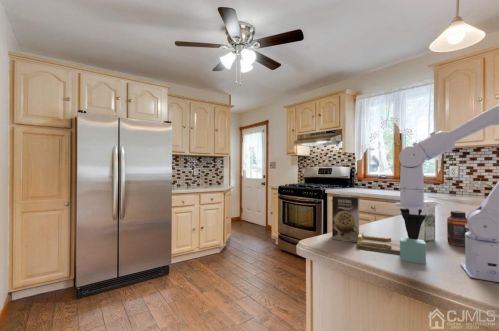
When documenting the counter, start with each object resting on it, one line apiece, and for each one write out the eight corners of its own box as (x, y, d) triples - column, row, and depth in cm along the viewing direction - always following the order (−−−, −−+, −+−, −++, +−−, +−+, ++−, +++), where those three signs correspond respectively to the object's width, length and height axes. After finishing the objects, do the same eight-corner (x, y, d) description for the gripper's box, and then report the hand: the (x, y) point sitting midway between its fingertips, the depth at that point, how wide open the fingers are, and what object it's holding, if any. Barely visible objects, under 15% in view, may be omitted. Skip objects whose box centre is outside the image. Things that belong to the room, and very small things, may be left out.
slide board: (423, 257, 74) (423, 245, 74) (357, 248, 83) (357, 237, 83) (419, 246, 85) (419, 236, 85) (360, 239, 93) (360, 229, 93)
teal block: (425, 264, 69) (425, 244, 70) (400, 260, 72) (400, 241, 72) (423, 258, 73) (423, 240, 73) (399, 255, 76) (399, 237, 76)
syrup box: (420, 236, 97) (419, 198, 97) (436, 240, 91) (435, 200, 92) (409, 237, 95) (409, 199, 95) (425, 242, 89) (424, 201, 90)
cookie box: (331, 239, 93) (331, 195, 93) (334, 235, 99) (334, 194, 99) (358, 242, 89) (358, 197, 89) (359, 238, 95) (359, 195, 95)
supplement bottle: (474, 247, 83) (473, 213, 83) (453, 246, 84) (453, 212, 84) (462, 242, 89) (462, 210, 89) (443, 241, 90) (443, 209, 90)
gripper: (395, 186, 81) (395, 228, 81) (396, 190, 69) (396, 239, 69) (421, 187, 78) (421, 231, 78) (427, 191, 65) (428, 243, 65)
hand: (411, 235), depth 73 cm, fingers open, 7 cm apart
